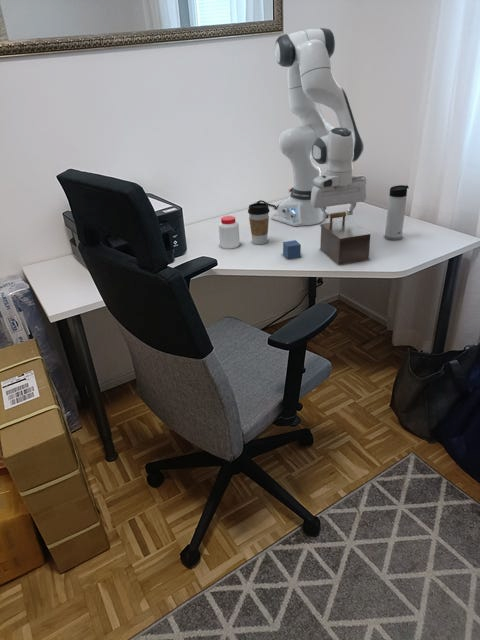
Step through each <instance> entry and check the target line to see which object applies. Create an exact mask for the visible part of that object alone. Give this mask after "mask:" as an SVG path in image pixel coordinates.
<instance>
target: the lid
mask: <svg viewBox="0 0 480 640" xmlns="http://www.w3.org/2000/svg"><path fill="white" fill-rule="evenodd" d="M328 214H329V222H326V223H319V226H320V228H321V227H322V228H323V229H325V230H326V231H327V232H329V233H330V234H331V235H333V236H334V237H335V238H337V239H338V240H339V241H343V240H349V239H356V238H362V237H368V236H370V237H371V235H372V234H371V233H370V232H369V231H367V230H366V229H364V228H363V227H361V226H359V225H358V224H356V223H355V222H353V221H352V220H350V219H346V216H347V211H345V210H343V211H338V212H331V213H328ZM337 218H342V219H341V220H338V221H333V220H334V219H337Z"/></svg>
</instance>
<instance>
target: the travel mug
mask: <svg viewBox="0 0 480 640" xmlns="http://www.w3.org/2000/svg"><path fill="white" fill-rule="evenodd" d="M408 189H409V185H404V184H399V185H393V186H391V187H390V188H389V194H388V204H387V211H386V212H387V213H386V223H385V224H386V225H385V231H384V232H385V234H384V238H385V239H387V240H390V241H399V240H401V239H402V237H403V229H404V222H405V221H404V220H405V213H406V204H407V196H408V194H407V193H408Z"/></svg>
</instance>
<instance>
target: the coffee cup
mask: <svg viewBox="0 0 480 640" xmlns="http://www.w3.org/2000/svg"><path fill="white" fill-rule="evenodd" d="M270 212H271V210H270V207H269V205H268V204H266V203H263V202H259V203H257V202H255V203H251V204H249V205H248V209H247V213H248V216H249V217H248V220H249V225H250V226H249V228H250V234H251V240H252V243H253V244H254V245H265V244H267V243H268V237H269V236H268V234H269V223H270V221H269V220H270V216H269V213H270Z"/></svg>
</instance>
